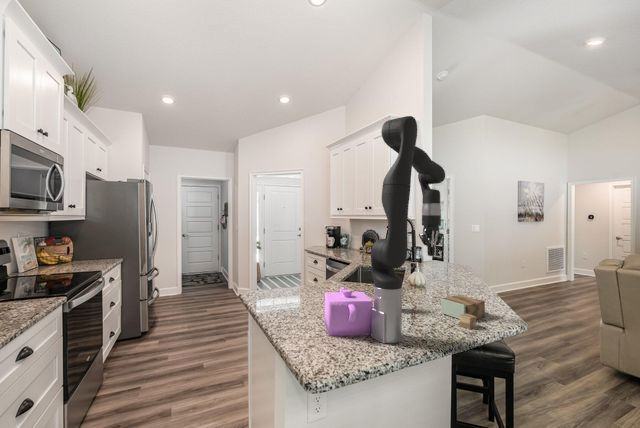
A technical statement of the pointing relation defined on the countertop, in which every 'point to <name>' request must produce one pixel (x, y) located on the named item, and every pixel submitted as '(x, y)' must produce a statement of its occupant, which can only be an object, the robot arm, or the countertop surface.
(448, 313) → the tray
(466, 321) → the oak block
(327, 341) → the countertop surface
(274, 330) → the countertop surface
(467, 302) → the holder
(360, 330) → the teapot
